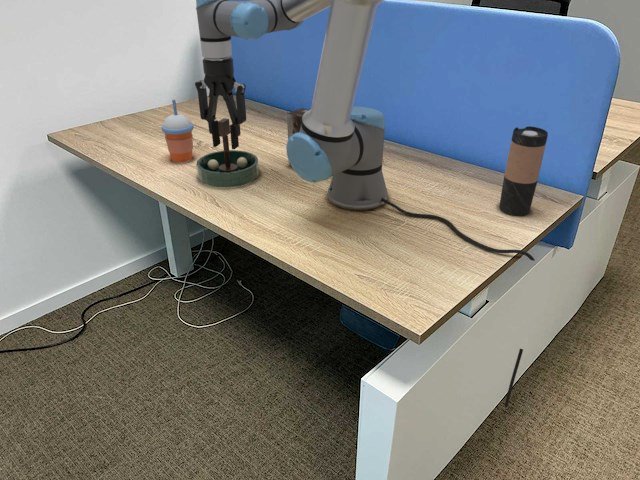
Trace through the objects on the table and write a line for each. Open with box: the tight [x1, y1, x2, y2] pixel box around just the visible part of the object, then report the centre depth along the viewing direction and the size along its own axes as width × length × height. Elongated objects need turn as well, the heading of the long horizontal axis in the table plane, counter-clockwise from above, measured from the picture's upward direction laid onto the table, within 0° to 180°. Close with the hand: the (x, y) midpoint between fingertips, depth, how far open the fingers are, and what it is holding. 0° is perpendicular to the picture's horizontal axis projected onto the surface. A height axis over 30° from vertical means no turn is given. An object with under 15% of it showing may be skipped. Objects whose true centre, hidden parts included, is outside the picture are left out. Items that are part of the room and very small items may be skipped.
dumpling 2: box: [237, 157, 247, 168], centre depth 150 cm, size 3×3×3 cm
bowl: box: [196, 149, 260, 188], centre depth 145 cm, size 17×17×4 cm
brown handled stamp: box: [218, 117, 238, 172], centre depth 142 cm, size 5×5×16 cm
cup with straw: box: [161, 99, 194, 163], centre depth 152 cm, size 9×9×18 cm
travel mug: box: [499, 125, 549, 217], centre depth 124 cm, size 8×8×20 cm
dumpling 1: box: [208, 159, 218, 170], centre depth 148 cm, size 3×3×3 cm
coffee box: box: [286, 107, 310, 166], centre depth 148 cm, size 9×6×16 cm
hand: (226, 146), depth 142 cm, fingers open, 5 cm apart
